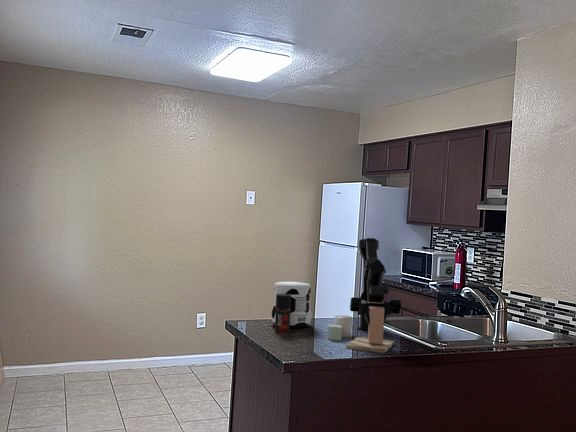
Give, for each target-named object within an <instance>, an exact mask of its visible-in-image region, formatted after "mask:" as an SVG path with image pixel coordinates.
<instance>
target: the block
mask: <svg viewBox="0 0 576 432" xmlns="http://www.w3.org/2000/svg"><path fill="white" fill-rule="evenodd" d="M327 332H328V334H327V340H332V341H342V339H343V337H342V325H334V324H328V329H327Z"/></svg>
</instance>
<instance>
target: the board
mask: <svg viewBox="0 0 576 432" xmlns="http://www.w3.org/2000/svg"><path fill="white" fill-rule="evenodd" d="M393 345H395V340H389V339H383V343H369V341H368V337H365V336H364V337H363V336H357V337H355V338H353V339H352V340H351V341H349V342H348V343H347V344H345V349H350V350H351V349H352V350H358V351H366V352H372V353H380V354H385V353H386V352H387V351H388V350H389V349H391V348H392V346H393Z"/></svg>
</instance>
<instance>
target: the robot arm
mask: <svg viewBox="0 0 576 432" xmlns="http://www.w3.org/2000/svg"><path fill="white" fill-rule="evenodd" d="M379 245H380V242H379V240H378V239H376V238H375V237H374V238H373V237H366V238H361V239H359V240H358V246H357V247H358V250H359V255H360V256H361V258H362V261H363V263H362V265H363V266H362V268H363V269H362V271H363V272H362V275H363V277H362V288H363V289H362V293H361V294H360V296H359V297H357V296H352V297H351V298H350V303H349V311H350V312H356V314H357V316H360V317H359V318H360V319H359V320H360V321H359V326H358V327H357V330H362V331H368V325H369V324H370V318H369V306H377V307H383V308H384V325H385V324H386V321H387V318H388V316H390V315H392V314H400V313H401V310H402V300H400V299H399V298H398V299H396V298H395V299H394V298H390V299H389V302H384V300H385V297H384V296H385V295H389V292H390V289H389V284H383V283H382V281H383V280H384V276H385V274H387V270H386V268H385V265H384V264H383V263H382V261H381V260H380V259H378V250H379V249H380V246H379Z"/></svg>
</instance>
